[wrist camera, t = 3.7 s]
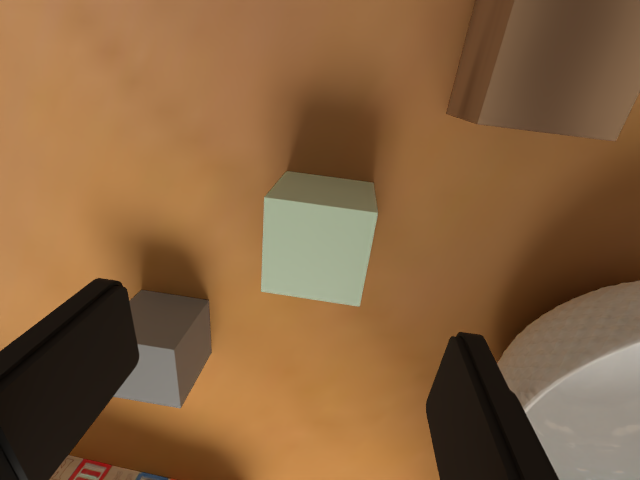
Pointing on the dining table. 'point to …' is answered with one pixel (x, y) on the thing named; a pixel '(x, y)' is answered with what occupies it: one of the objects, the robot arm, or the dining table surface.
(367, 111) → the dining table surface
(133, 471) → the stack of blocks
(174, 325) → the gray cube
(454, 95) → the walnut cube
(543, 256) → the dining table surface
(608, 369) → the cereal bowl
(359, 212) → the sage green cube
